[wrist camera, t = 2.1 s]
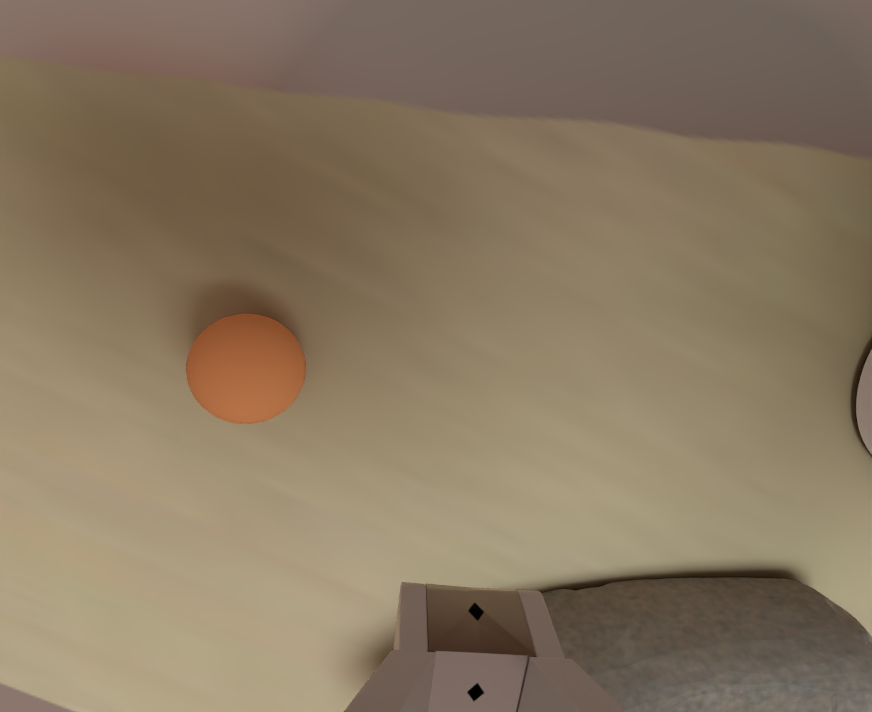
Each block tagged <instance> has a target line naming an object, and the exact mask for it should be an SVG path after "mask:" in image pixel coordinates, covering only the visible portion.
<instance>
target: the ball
mask: <svg viewBox="0 0 872 712" xmlns="http://www.w3.org/2000/svg"><path fill="white" fill-rule="evenodd" d="M305 371H306V364H305V357H304V354H303V350H302V348H301V346H300V344H299V342H298V341H297V339H296V337H295V336H294V335H293V334H292V333H291V332H290V331H289V330H288V329H287V328H286V327H285V326H283V325H282V324H281V323H279V322H277V321H275V320H273V319H271V318H269V317H266V316H262V315H257V314H236V315H231V316H227V317H225V318H222V319H219V320H218V321H216V322H214V323H212V324H211V325H210V326H208V327H207V328H205V329H204V330H203V331H202V332H201V333H200V335H199V336H198V337H197V338H196V340H195V341H194V343H193V345H192V347H191V349H190V352H189V355H188V358H187V364H186V373H187V380H188V384H189V387H190V390H191V392H192V394H193V395H194V397H195V398H196V400H197V401H198V403H199V404H200V405H201V406H202V407H203V408H204V409H206V410H207V411H208V412H209V413H211V414H212V415H214V416H216V417H218V418H220V419H222V420H225V421H229V422H233V423H240V424H251V423H257V422H262V421H265V420H268V419H271V418H273V417H275V416H277V415H278V414H280V413H281V412H283V411H284V410H286V409H287V408H288V407H289V406H290V405H291V404H292V403H293V401H294V400H295V399H296V397H297V396H298V394H299V392H300V390H301V388H302V386H303V383H304V379H305Z"/></svg>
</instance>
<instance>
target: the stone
mask: <svg viewBox="0 0 872 712" xmlns="http://www.w3.org/2000/svg"><path fill="white" fill-rule="evenodd" d="M541 594H542V596H543V598H544V601H545V604H546V607H547V610H548V612H549V615H550V618H551V621H552V624H553V626H554V629H555V632H556V635H557V638H558V640H559V643H560V646H561V649H562V652H563V654H564V657H565V659H573V660H574V661H575V662H576V663H577V664H578V665H579V666H580V667H581V668H582V669H583V670H584V671H585V672H586V673H587V674H588V675H589V676H590V677H591V678H592V679H593V680H594V681H595V682H596V683H597V684H598V685H599V686H601V687H602V688H603V689H604V690H605V691H606V692H607V693H608V694H609V695H610V696H611V697H612V698H613V699H614V700H615V701H616V702H617V703H618V704H619V705H620V706H621V707H622V708H623V709H624V710H625V711H626V712H872V637H871V636H870V634H869V633H868V632H867V630H866V629H865V628H864V627H863V626H862V625H861V624H860V623H859V622H858V621H857V620H856V619H855V618H854V617H853V616H852V615H851V614H849V613H848V612H847V611H845V610H844V609H843V608H841V607H840V606H838V605H837V604H835V603H834V602H832V601H831V600H829V599H828V598H827V597H825V596H824V595H822V594H821V593H819V592H818V591H816V590H815V589H813V588H811V587H809V586H807V585H805V584H803V583H801V582H799V581H795V580H792V579H777V578H665V579H641V580H630V581H619V582H611V583H608V584H606V585H603V586H600V587H594V588H585V589H581V590H576V591H574V590H569V589H558V590H553V591H548V592H544V593H541Z"/></svg>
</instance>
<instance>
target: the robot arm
mask: <svg viewBox="0 0 872 712" xmlns="http://www.w3.org/2000/svg"><path fill="white" fill-rule="evenodd" d="M856 415H857V422H858V427H859V431H860V434H861V437H862V439H863V442H864V443H865V445H866V447H867V449H868V450H869V452H870V453H871V454H872V349H871V351H870V353H869V355H868V358H867V360H866V362H865V365H864V368H863V371H862V374H861V377H860V381H859V385H858V391H857V399H856ZM344 712H626V711H625V710H624V709H623V708H622V707H621V706H620V705H619V704H618V703H617V702H616V701H615V700H614V699H613V698H612V697H611V696H610V695H609V694H608V693H607V692H606V691H605V690H604V689H603V688H602V687H601V686H599V685H598V684H597V683H596V682H595V681H594V680H593V679H592V678H591V677H590V676H589V675H588V674H587V673H586V672H585V671H584V670H583V669H582V668H581V667H580V666H579V665H578V664H577V663H576V662H575V661H574V660H573V659H565V657H564V654H563V652H562V649H561V646H560V643H559V640H558V638H557V635H556V632H555V629H554V626H553V624H552V621H551V618H550V615H549V612H548V610H547V607H546V604H545V601H544V598H543V596H542V594H541V593H540V591H538V590H509V589H490V588H471V587H458V586H447V585H435V584H418V583H407V582H402V583H401V587H400V595H399V604H398V612H397V620H396V629H395V640H394V650H391V651H390V652H389V654H388V655H387V656H386V658H385V659H384V660H383V662H382V663H381V664H380V665H379V667H378V668H377V669H376V671H375V672H374V673H373V674H372V676H371V677H370V678H369V680H368V681H367V682H366V684H365V685H364V686H363V687H362V689H361V690H360V691H359V693H358V694H357V695H356V697H355V698H354V699H353V700H352V702H351V703H350V704H349V706H348V707H347V708H346V710H345V711H344Z"/></svg>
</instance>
